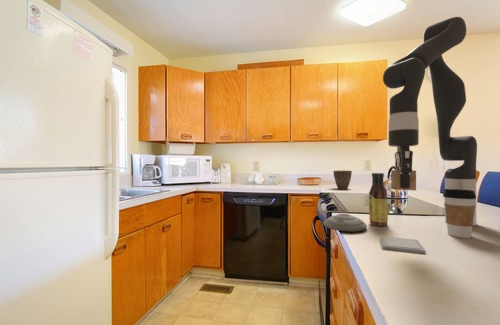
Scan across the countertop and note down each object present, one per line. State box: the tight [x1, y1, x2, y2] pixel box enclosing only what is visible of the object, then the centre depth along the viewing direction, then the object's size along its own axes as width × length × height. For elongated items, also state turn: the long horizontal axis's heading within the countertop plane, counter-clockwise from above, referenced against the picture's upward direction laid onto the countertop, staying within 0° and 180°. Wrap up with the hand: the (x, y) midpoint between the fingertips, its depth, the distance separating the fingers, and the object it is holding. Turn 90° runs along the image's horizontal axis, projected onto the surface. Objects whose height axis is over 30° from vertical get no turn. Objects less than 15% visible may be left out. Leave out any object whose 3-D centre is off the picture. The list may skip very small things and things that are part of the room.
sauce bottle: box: [368, 172, 389, 227], centre depth 96 cm, size 7×6×20 cm
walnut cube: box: [390, 169, 417, 191], centre depth 73 cm, size 6×6×6 cm
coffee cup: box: [442, 188, 477, 239], centre depth 81 cm, size 8×8×15 cm
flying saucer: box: [322, 213, 368, 233], centre depth 92 cm, size 15×15×6 cm
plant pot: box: [332, 170, 353, 191], centre depth 214 cm, size 15×15×16 cm
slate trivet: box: [379, 235, 426, 255], centre depth 72 cm, size 10×10×1 cm
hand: (403, 187), depth 73 cm, fingers closed on walnut cube, 5 cm apart
